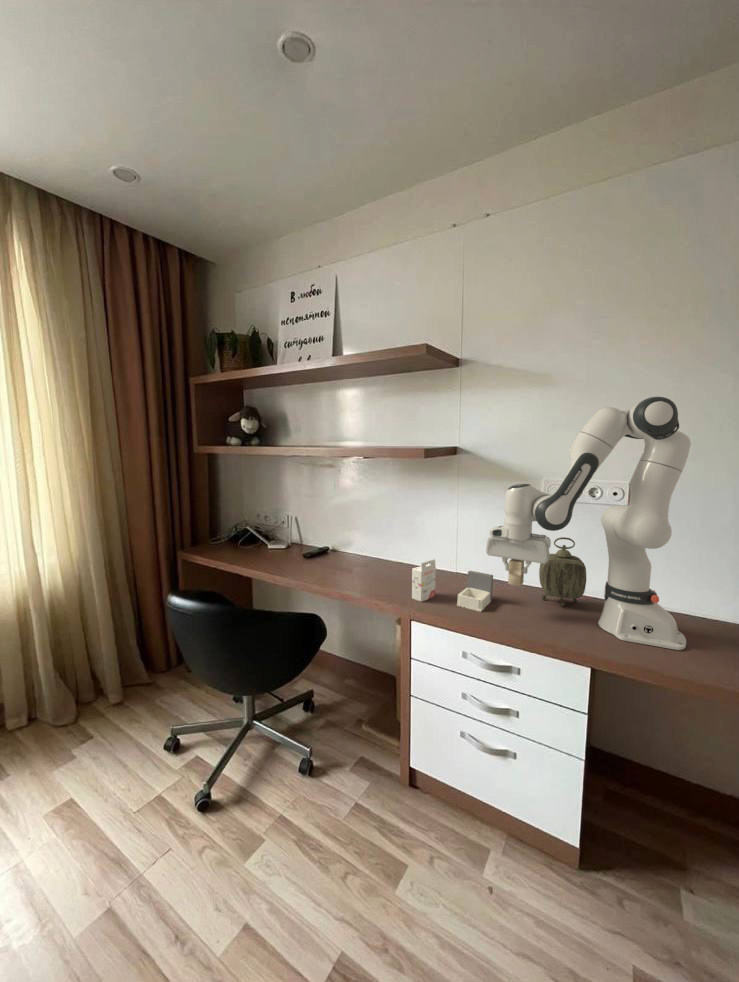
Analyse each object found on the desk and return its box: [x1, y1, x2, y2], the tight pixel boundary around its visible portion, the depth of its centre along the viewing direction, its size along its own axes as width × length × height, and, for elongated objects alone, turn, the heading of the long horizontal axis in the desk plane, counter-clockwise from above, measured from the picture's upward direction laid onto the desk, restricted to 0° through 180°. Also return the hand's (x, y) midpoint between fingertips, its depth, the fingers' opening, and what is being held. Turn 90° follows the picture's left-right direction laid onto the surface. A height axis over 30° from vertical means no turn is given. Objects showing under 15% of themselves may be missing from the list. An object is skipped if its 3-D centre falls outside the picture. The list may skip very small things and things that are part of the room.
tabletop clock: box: [538, 536, 587, 607], centre depth 143 cm, size 14×9×25 cm, turn 74°
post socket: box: [456, 570, 494, 613], centre depth 144 cm, size 9×12×10 cm
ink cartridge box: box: [411, 558, 437, 603], centre depth 149 cm, size 9×5×15 cm, turn 133°
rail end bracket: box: [507, 559, 525, 587], centre depth 134 cm, size 4×5×8 cm
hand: (516, 571), depth 134 cm, fingers closed on rail end bracket, 4 cm apart
